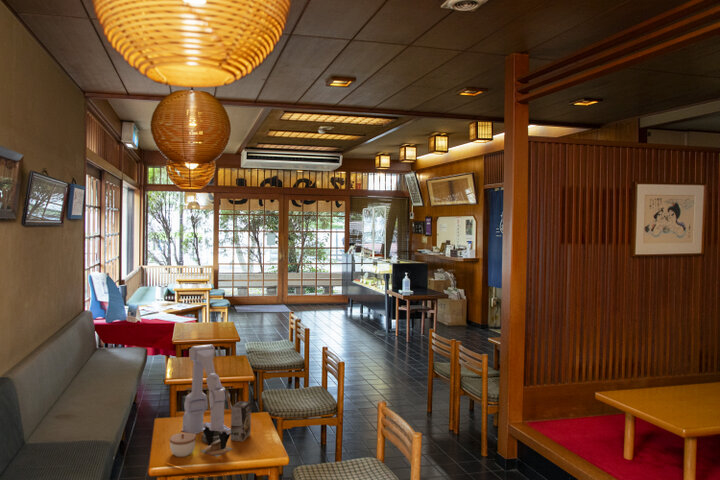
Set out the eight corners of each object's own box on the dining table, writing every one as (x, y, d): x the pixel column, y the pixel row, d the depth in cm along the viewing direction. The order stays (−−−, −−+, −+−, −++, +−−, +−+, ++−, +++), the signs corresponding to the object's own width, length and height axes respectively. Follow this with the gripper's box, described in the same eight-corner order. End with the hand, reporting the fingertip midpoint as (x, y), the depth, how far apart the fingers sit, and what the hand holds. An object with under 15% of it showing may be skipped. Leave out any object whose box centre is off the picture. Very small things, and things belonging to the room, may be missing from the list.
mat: (199, 452, 241) (199, 451, 241) (216, 444, 250) (216, 443, 250) (217, 457, 236) (217, 456, 236) (233, 449, 245) (233, 448, 245)
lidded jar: (195, 458, 235) (195, 437, 234) (168, 461, 232) (169, 439, 231) (195, 448, 245) (195, 427, 245) (169, 451, 242) (170, 429, 242)
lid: (199, 451, 241) (200, 442, 241) (216, 443, 250) (216, 435, 250) (217, 456, 236) (217, 448, 236) (233, 448, 245) (233, 440, 245)
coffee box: (243, 442, 253) (243, 407, 253) (230, 440, 255) (230, 406, 254) (251, 435, 262) (251, 401, 262) (238, 433, 263) (239, 400, 263)
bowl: (197, 441, 253) (197, 435, 253) (212, 434, 261) (212, 428, 261) (212, 445, 248) (212, 439, 248) (227, 438, 257) (227, 432, 257)
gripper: (198, 415, 242) (197, 446, 243) (223, 422, 235) (222, 453, 236) (210, 411, 249) (209, 440, 249) (234, 417, 242) (234, 447, 242)
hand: (216, 446), depth 243 cm, fingers open, 7 cm apart
